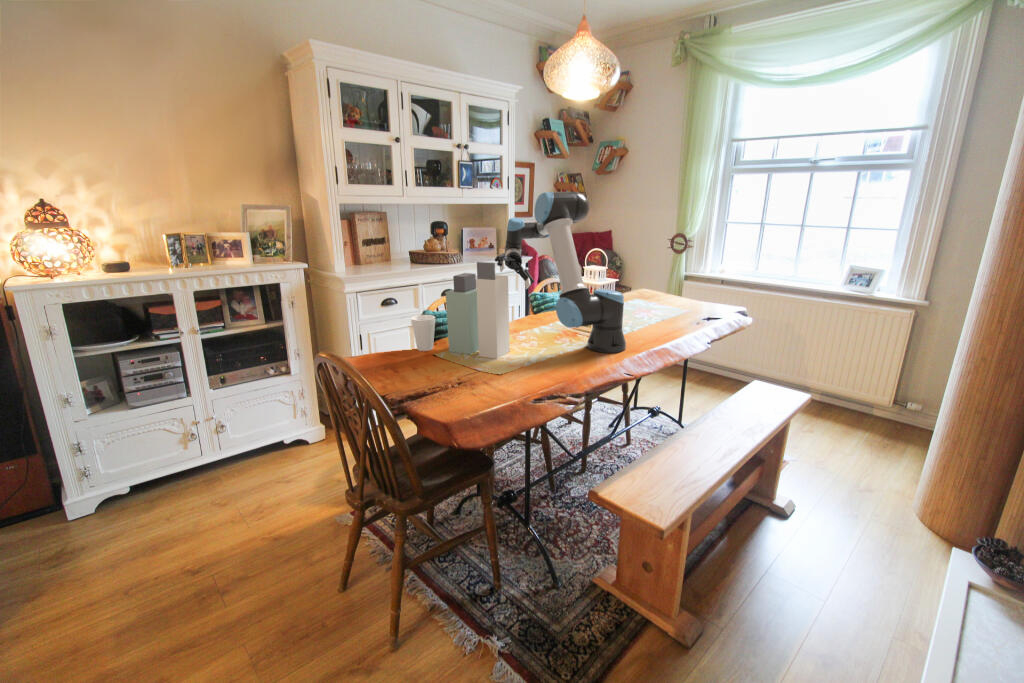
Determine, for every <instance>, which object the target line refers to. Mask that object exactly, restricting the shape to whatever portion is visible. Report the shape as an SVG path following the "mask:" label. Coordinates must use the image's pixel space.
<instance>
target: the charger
mask: <svg viewBox="0 0 1024 683" xmlns="http://www.w3.org/2000/svg"><path fill="white" fill-rule="evenodd" d="M452 277H453V279H452V280H453V290H454V292H468V291H471V290H474V289H477V287H476V279H477V273H471V272H464V273H459V274H456V275H453V276H452Z"/></svg>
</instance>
